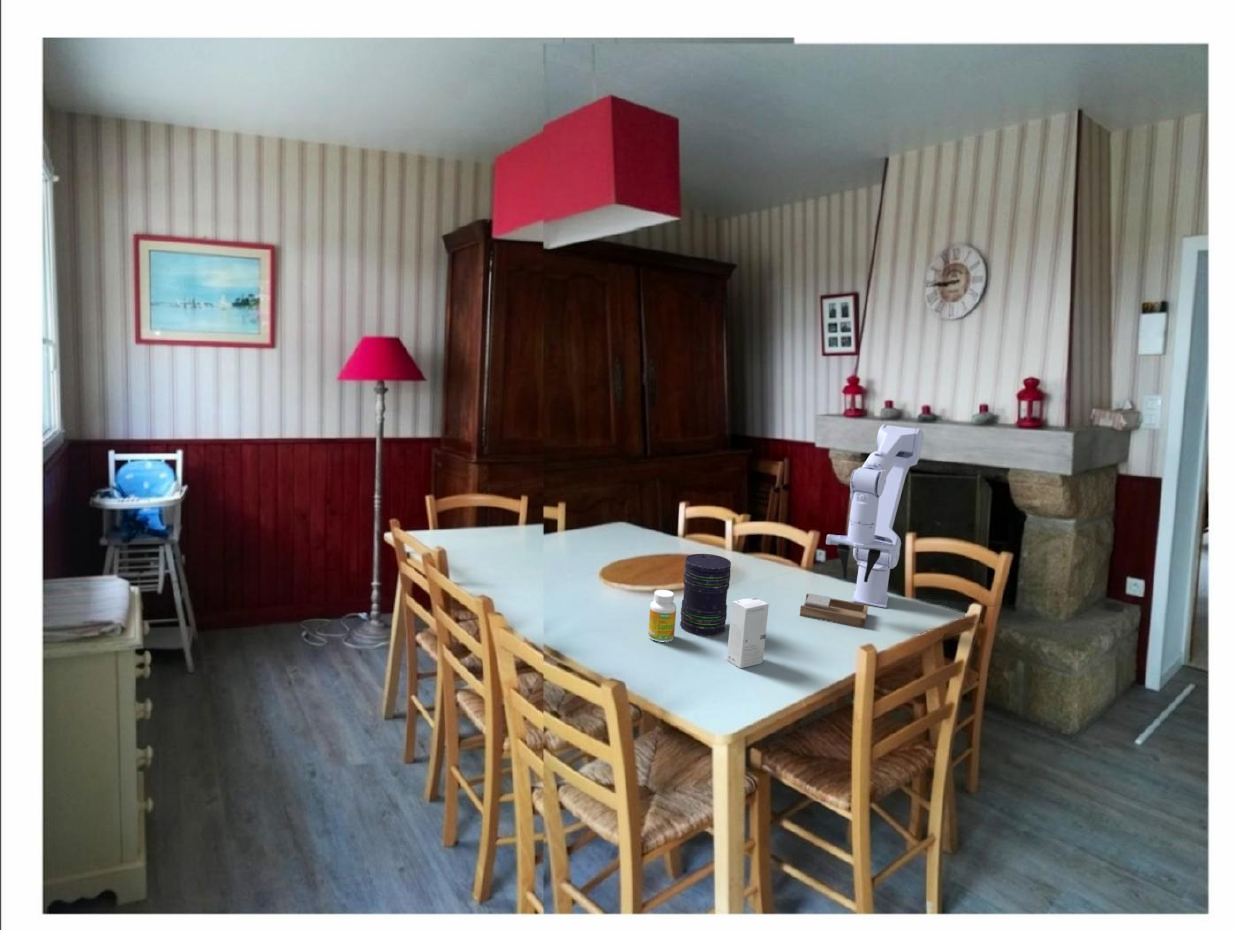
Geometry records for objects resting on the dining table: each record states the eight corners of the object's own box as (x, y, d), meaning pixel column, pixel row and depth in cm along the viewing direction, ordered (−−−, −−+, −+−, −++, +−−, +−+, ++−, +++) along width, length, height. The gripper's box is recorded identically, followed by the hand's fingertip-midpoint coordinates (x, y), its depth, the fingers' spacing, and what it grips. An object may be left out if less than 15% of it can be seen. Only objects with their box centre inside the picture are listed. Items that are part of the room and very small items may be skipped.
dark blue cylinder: (732, 635, 152) (738, 568, 149) (688, 637, 150) (693, 568, 147) (715, 617, 161) (721, 553, 159) (673, 618, 159) (678, 553, 156)
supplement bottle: (656, 645, 145) (659, 599, 143) (643, 634, 150) (646, 590, 148) (678, 641, 148) (682, 596, 146) (665, 631, 152) (668, 587, 151)
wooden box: (805, 602, 174) (806, 593, 174) (867, 614, 169) (868, 605, 169) (799, 615, 166) (800, 606, 165) (863, 628, 160) (865, 619, 160)
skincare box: (740, 669, 137) (746, 609, 134) (725, 660, 140) (730, 600, 138) (764, 663, 140) (770, 604, 138) (748, 653, 144) (754, 596, 142)
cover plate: (808, 603, 172) (809, 593, 172) (829, 607, 170) (831, 597, 170) (804, 611, 167) (805, 601, 166) (826, 616, 165) (828, 605, 164)
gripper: (827, 520, 161) (820, 578, 163) (896, 530, 155) (888, 590, 158) (831, 513, 167) (824, 569, 170) (897, 523, 162) (889, 581, 164)
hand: (855, 579), depth 164 cm, fingers open, 4 cm apart
